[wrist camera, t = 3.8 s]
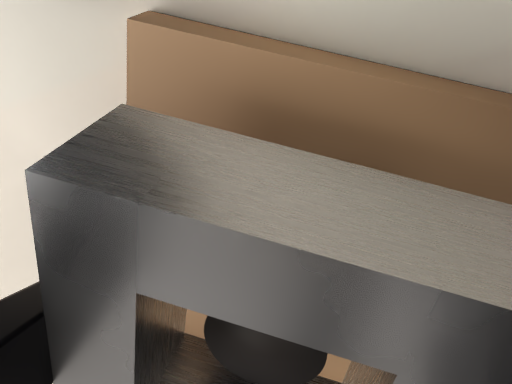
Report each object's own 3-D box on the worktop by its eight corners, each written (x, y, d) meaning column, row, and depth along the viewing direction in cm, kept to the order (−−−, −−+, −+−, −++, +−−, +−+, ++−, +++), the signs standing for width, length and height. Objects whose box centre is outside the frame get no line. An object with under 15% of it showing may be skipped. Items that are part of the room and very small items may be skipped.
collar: (389, 444, 11) (390, 573, 9) (122, 354, 12) (62, 451, 10) (528, 209, 7) (586, 332, 5) (121, 103, 8) (25, 170, 6)
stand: (411, 378, 14) (418, 531, 11) (139, 293, 15) (65, 405, 12) (564, 105, 9) (669, 220, 6) (148, 10, 10) (25, 58, 7)
